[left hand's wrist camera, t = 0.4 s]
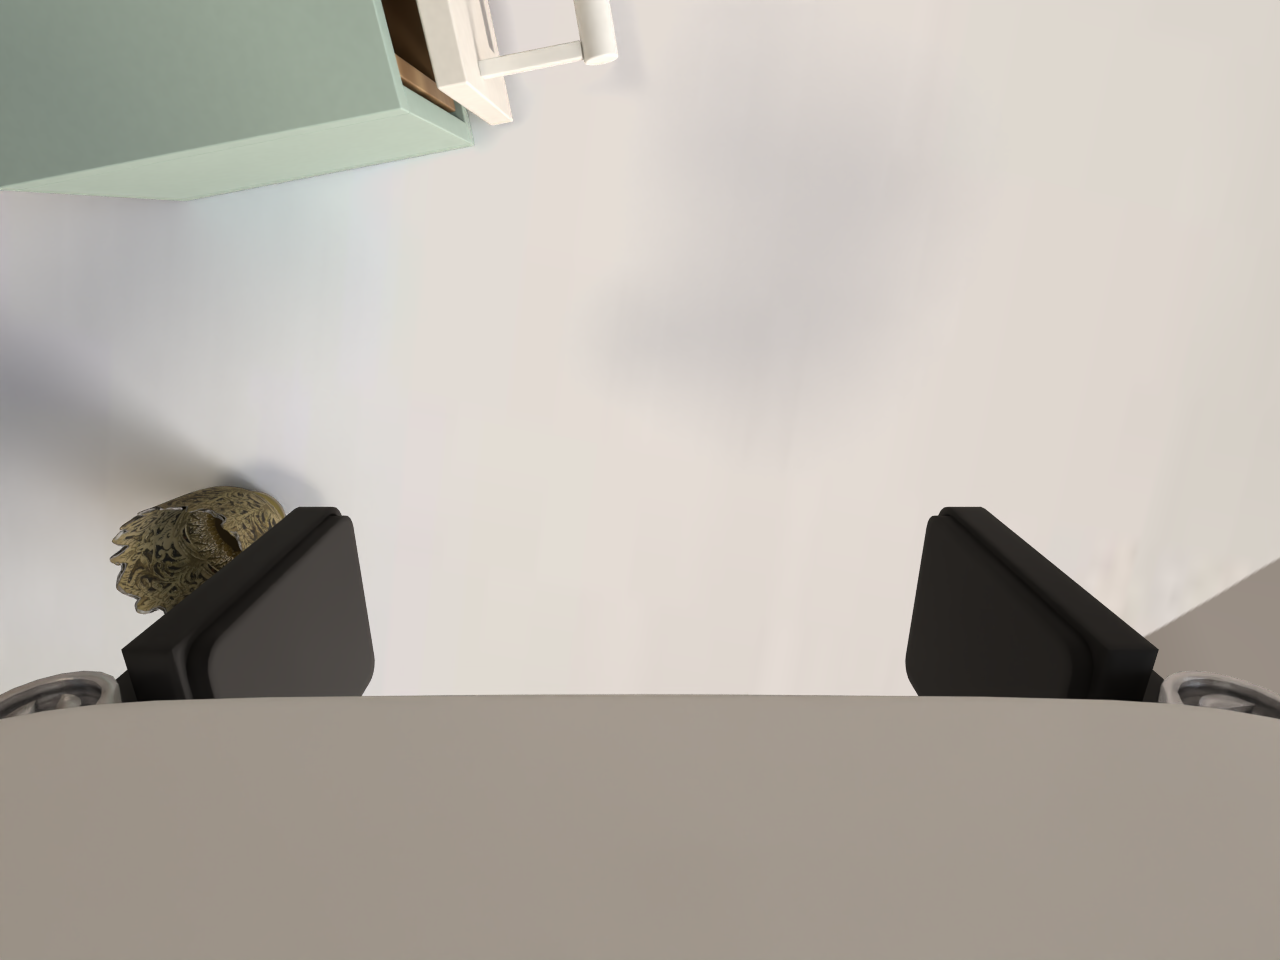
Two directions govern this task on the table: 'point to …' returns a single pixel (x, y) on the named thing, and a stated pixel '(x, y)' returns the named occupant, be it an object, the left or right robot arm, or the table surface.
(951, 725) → the left robot arm
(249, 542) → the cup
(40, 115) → the mint green storage box
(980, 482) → the table surface
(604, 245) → the table surface
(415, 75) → the drawer
